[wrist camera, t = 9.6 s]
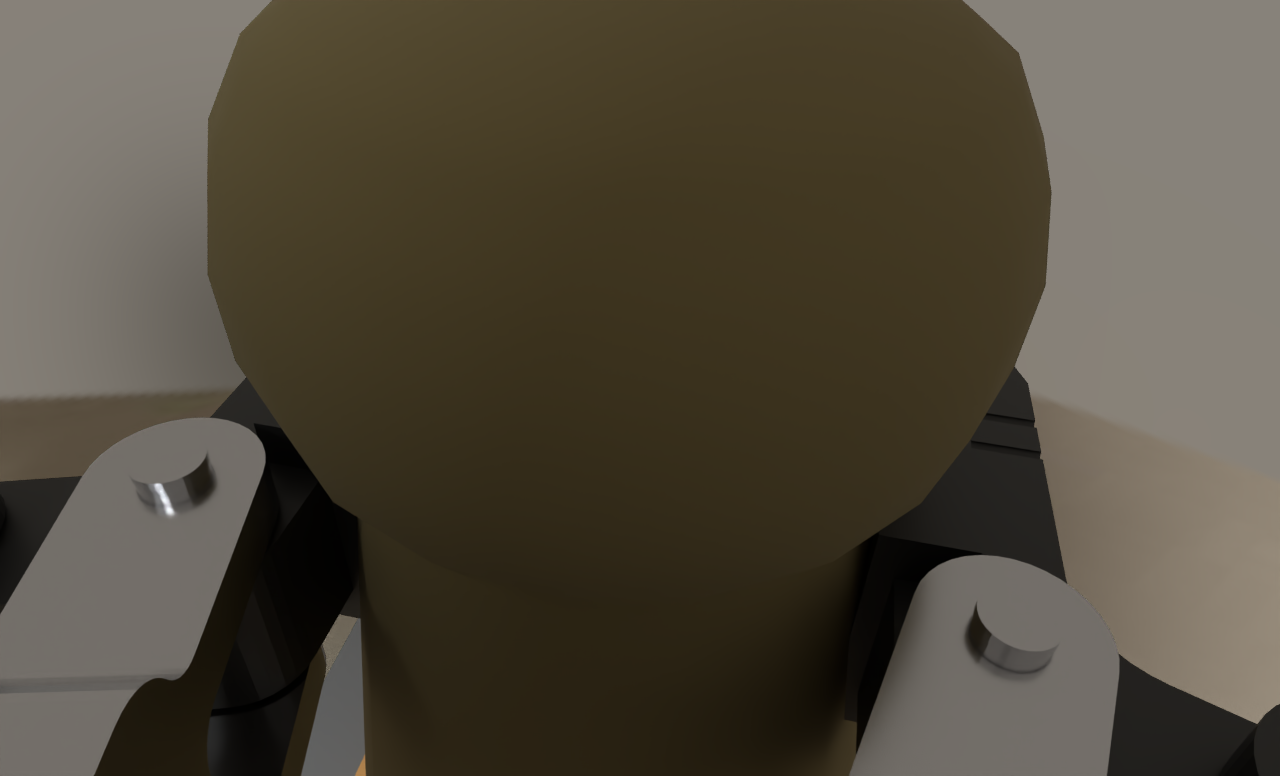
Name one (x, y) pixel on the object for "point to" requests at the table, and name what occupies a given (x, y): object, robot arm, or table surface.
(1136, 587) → the table surface
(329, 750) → the socket plate
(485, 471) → the cork
